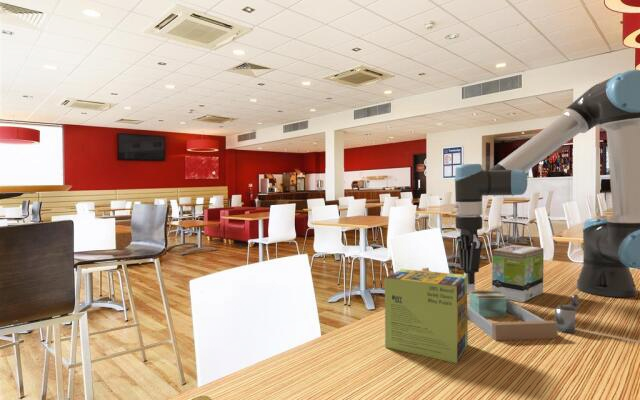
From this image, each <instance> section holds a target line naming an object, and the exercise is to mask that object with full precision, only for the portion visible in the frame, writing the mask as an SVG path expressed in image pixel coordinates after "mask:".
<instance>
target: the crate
mask: <svg viewBox="0 0 640 400" xmlns="http://www.w3.org/2000/svg"><path fill="white" fill-rule="evenodd" d="M469 307H470V308H472V309H473V310H474V311H476V312H477V313H478V314H480V315H481V316H483V317H484V318H491V317H492V318H495V317H496V318H497V317H498V318H499V317H500V318H501V317H504V318H506V317H507V310H506V298H505V295H503V294H498V291H497V290H492V289H488V290H487V289H483V290H482V289H480V290H479V289H478V290H477V289H475V290H470V291H469Z"/></svg>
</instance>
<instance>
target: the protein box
mask: <svg viewBox="0 0 640 400" xmlns="http://www.w3.org/2000/svg"><path fill="white" fill-rule="evenodd" d="M430 271H431V270H429V271H421V270H419V269H405V268H401V269H400V270H397V271H396V272H394V273H392V274H389V275H388V276H386V277H384V310H385V311H384V321H385V322H384V327H385V328H384V329H385V330H384V331H385V332H384V333H385V334H384V335H385V337H384V338H385V339H384V340H385V341H384V342H385V346H384V347H385V348H387V349H391V350H395V351H400V352H404V353H410V354H413V355H419V356H421V357H425V358H426V357H428V358H431V359H435V360H439V361H440V360H441V361H444V362H450V363H454V364H457V363H458V362H460V359H461V357H462V356H463V354H464V352H465V351H466V349H467V347H468V345H469V335H468V330H469V329H468V326H469V325H468V324H469V323H468V321H469V319H468V318H467V305H468V295H467V275H464V274H461V273H460V274H459V273H448V272H440V271H432V272H430Z"/></svg>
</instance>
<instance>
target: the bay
mask: <svg viewBox="0 0 640 400" xmlns="http://www.w3.org/2000/svg"><path fill="white" fill-rule="evenodd" d="M506 312H509V313H510V314H512V315H513V316H515V317H517V318H519V319H520V320H523V321H503V322H491V321H489V320H488V319H486V317H483V316H481V315H480V314H478V313H477V312H476V311H474V310H473V309H472V308H470V305H468V304H467V319H468V320H469V321H471V322H472V323H473V324H475V325H476V327H478V328H479V329H481V330H482V331H483V332H484V333H485V334H487V335H488V336H489V337H491V338H492V339H493V340H494V341H517V340H518V341H520V340H544V339H545V340H546V339H558V331H557V323H556V322H555V320H545V319H543V318H541V317H539V316H538V315H536V314H534V313H532V312H531V311H529V310H527V309H525V308H523V307H522V306H520V305H519V304H517V303H514V301H512V300H509V299H506Z"/></svg>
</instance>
